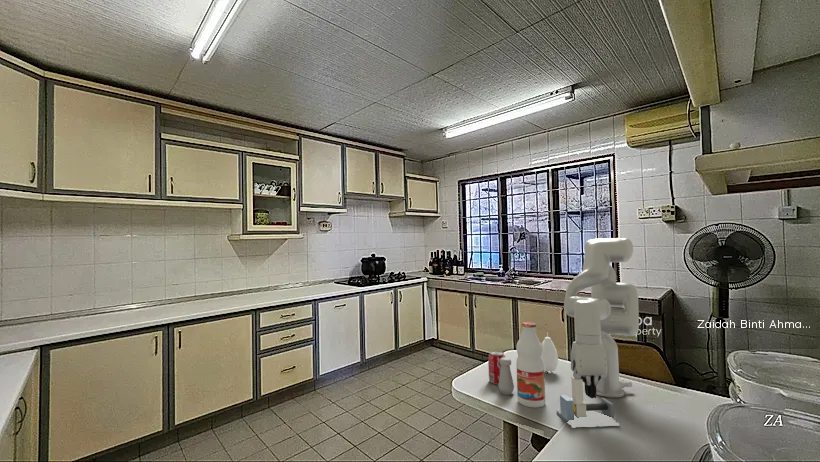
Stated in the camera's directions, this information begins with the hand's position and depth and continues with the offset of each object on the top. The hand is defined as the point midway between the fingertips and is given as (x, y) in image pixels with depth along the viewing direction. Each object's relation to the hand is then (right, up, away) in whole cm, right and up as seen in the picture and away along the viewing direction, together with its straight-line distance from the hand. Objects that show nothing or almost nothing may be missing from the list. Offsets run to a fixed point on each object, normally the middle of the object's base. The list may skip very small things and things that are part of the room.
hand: (590, 396), depth 112 cm
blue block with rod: (-2, -7, -1) cm, 7 cm away
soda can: (-22, -10, +32) cm, 40 cm away
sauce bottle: (+4, -10, +43) cm, 44 cm away
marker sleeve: (-4, -6, -1) cm, 7 cm away
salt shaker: (-21, -9, +21) cm, 31 cm away
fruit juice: (-15, -8, +13) cm, 21 cm away
